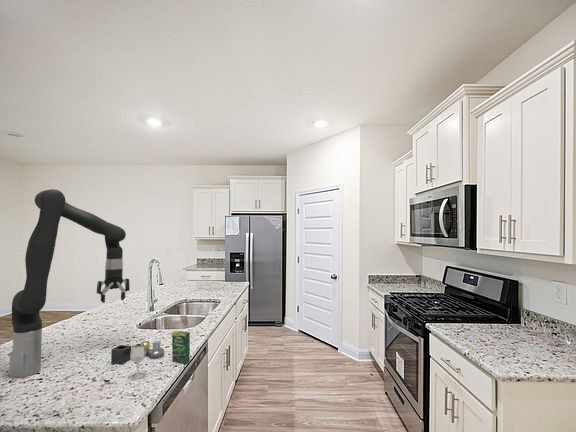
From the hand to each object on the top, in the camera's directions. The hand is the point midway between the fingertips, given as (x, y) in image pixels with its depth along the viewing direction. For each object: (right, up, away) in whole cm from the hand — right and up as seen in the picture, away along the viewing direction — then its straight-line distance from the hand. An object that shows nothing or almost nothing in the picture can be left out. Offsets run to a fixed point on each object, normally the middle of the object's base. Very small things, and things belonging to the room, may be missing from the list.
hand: (113, 301), depth 161 cm
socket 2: (+17, -23, -4) cm, 29 cm away
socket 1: (+12, -22, -16) cm, 30 cm away
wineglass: (+26, -22, -30) cm, 46 cm away
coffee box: (+38, -23, -16) cm, 48 cm away
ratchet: (+20, -23, -9) cm, 31 cm away
